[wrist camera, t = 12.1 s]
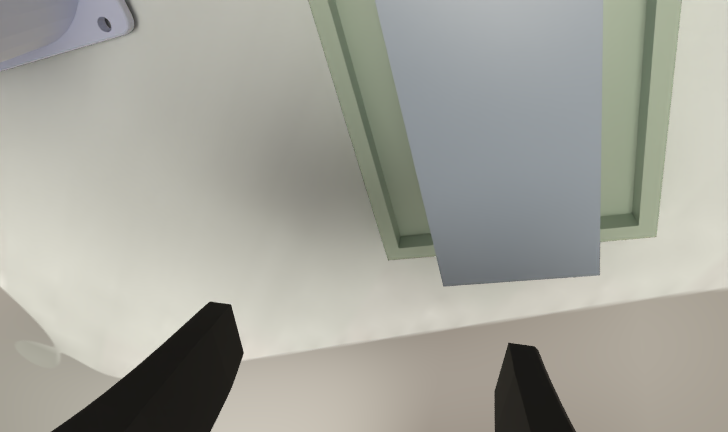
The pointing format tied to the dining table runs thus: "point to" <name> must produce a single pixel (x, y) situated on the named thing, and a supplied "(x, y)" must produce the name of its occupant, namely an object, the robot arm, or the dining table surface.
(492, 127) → the grey oblong block
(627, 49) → the sage tray
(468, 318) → the dining table surface
